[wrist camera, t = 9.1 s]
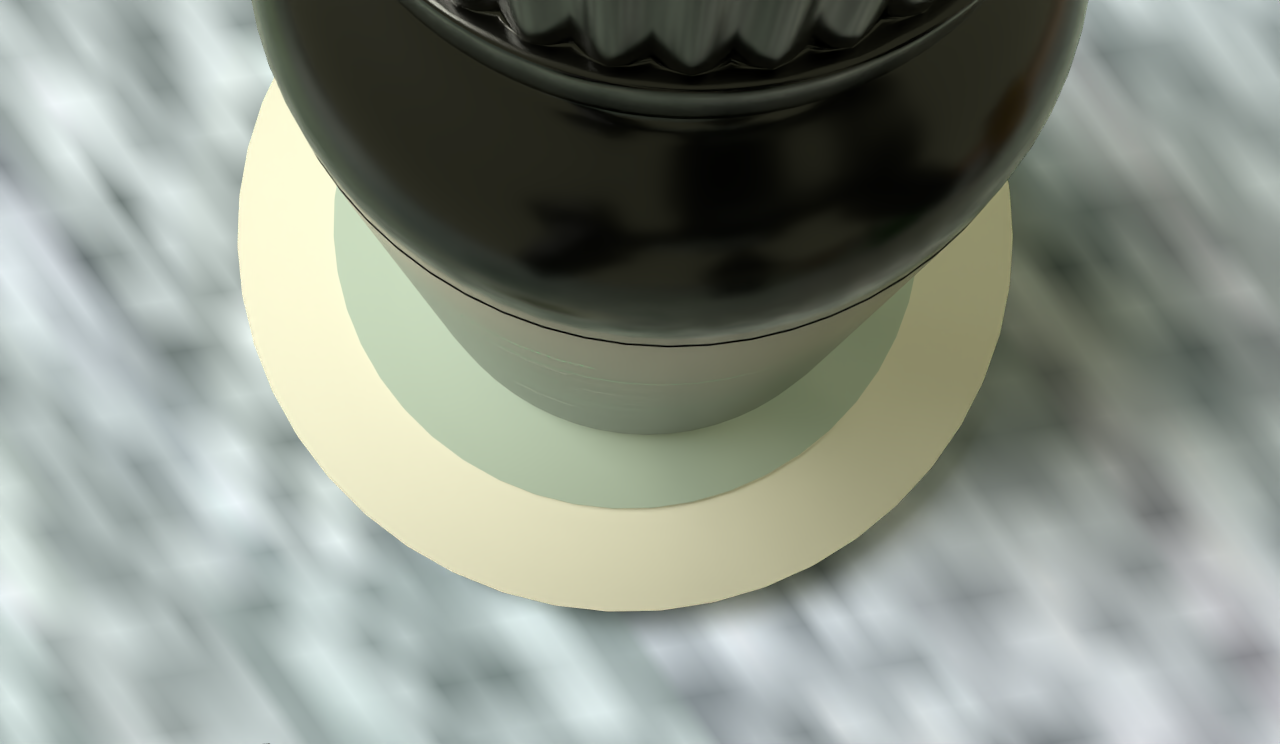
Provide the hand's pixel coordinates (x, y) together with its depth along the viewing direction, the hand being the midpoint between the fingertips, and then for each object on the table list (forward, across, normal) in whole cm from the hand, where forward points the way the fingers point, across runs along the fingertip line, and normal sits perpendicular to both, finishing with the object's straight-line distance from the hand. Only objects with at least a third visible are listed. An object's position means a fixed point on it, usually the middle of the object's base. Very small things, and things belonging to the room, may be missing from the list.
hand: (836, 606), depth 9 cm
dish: (+10, 0, +2) cm, 11 cm away
